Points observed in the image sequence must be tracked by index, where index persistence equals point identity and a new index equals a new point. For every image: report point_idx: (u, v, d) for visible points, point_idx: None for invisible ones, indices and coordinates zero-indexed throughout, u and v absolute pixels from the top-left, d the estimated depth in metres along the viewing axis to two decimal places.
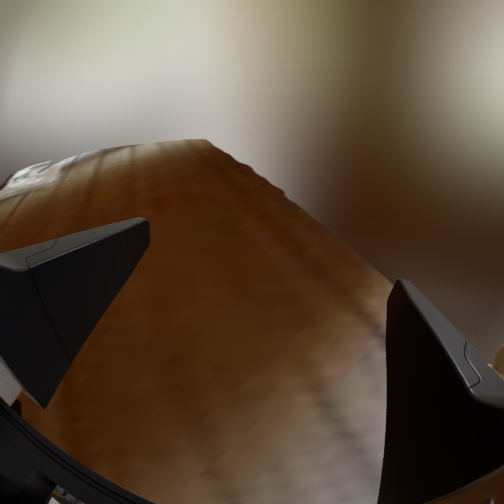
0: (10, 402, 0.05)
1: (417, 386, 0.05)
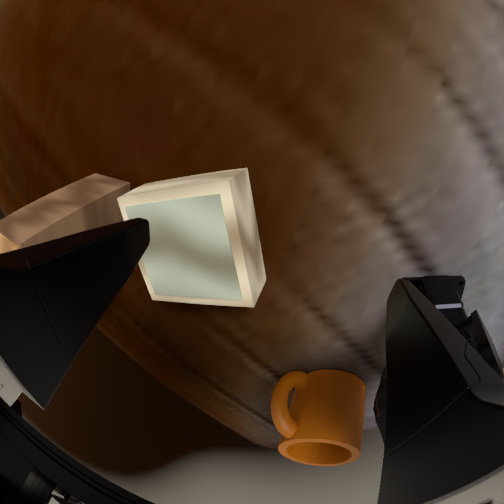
0: (10, 402, 0.05)
1: (417, 386, 0.05)
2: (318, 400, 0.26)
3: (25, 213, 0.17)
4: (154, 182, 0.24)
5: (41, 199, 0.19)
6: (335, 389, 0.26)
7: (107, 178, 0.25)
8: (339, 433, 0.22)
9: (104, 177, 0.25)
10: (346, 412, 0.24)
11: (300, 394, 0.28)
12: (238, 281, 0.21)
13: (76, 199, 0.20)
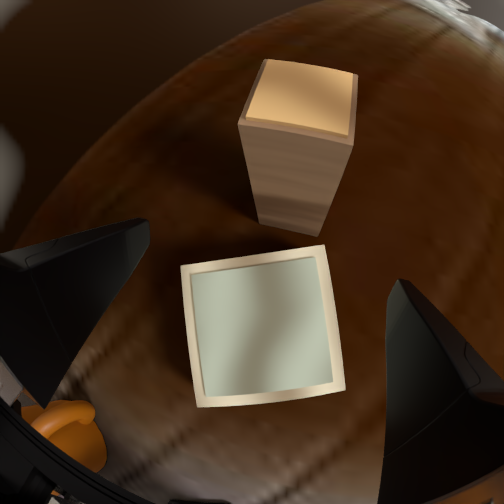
0: (10, 402, 0.05)
1: (417, 386, 0.05)
2: (77, 449, 0.16)
3: None
4: None
5: None
6: (91, 459, 0.17)
7: None
8: None
9: None
10: None
11: (72, 422, 0.18)
12: (230, 394, 0.17)
13: None
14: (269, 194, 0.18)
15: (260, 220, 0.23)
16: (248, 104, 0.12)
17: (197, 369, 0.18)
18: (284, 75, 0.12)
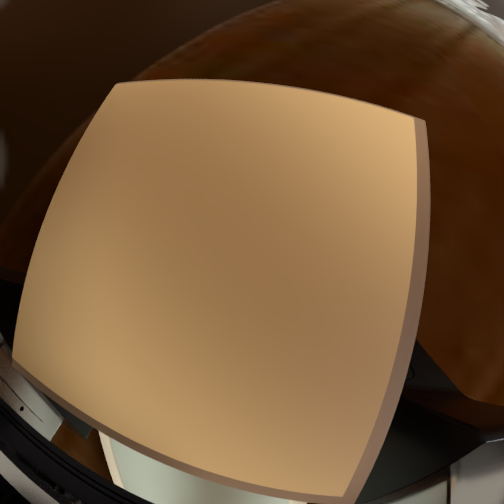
0: (49, 436, 0.05)
1: None
2: None
3: None
4: None
5: None
6: None
7: None
8: None
9: None
10: None
11: None
12: None
13: None
14: None
15: None
16: None
17: None
18: (133, 149, 0.03)
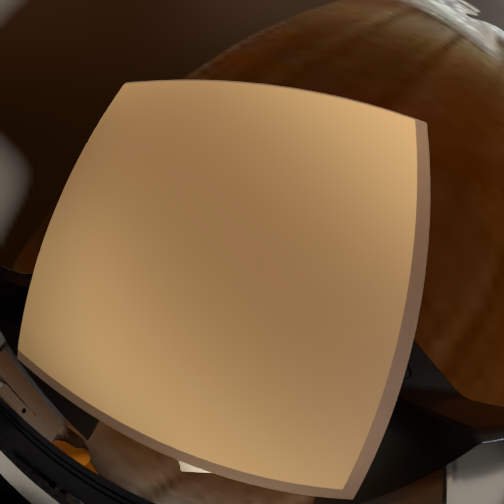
0: (51, 438, 0.05)
1: None
2: None
3: None
4: None
5: None
6: None
7: None
8: None
9: None
10: None
11: None
12: None
13: None
14: None
15: None
16: None
17: None
18: (142, 147, 0.03)
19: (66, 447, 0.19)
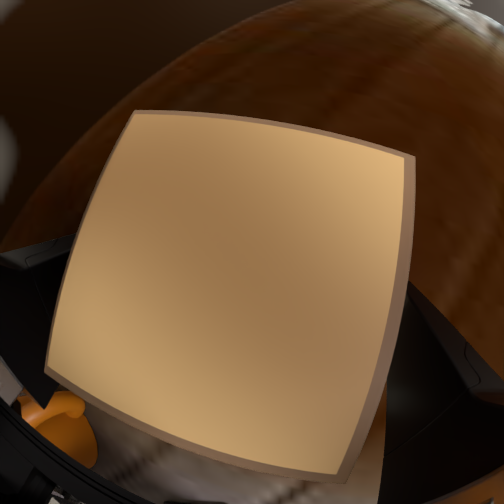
0: (10, 402, 0.05)
1: (417, 386, 0.05)
2: (65, 444, 0.15)
3: None
4: None
5: None
6: (80, 455, 0.16)
7: None
8: None
9: None
10: None
11: (60, 414, 0.17)
12: None
13: None
14: None
15: None
16: None
17: None
18: (158, 184, 0.04)
19: None
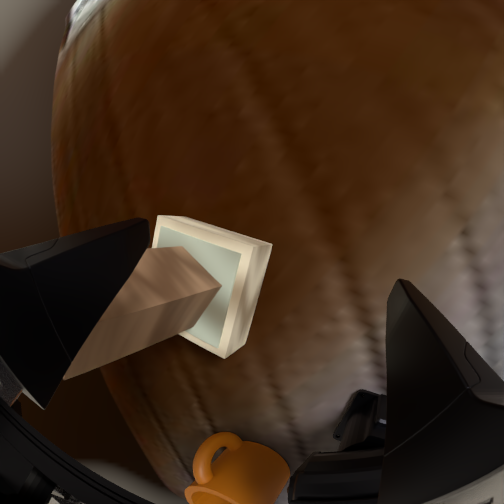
0: (10, 402, 0.05)
1: (417, 386, 0.05)
2: (241, 465, 0.23)
3: None
4: (193, 219, 0.28)
5: None
6: (260, 464, 0.24)
7: (196, 263, 0.23)
8: (247, 500, 0.19)
9: (192, 259, 0.23)
10: (262, 486, 0.21)
11: (228, 454, 0.25)
12: (222, 331, 0.23)
13: (159, 283, 0.18)
14: (146, 340, 0.18)
15: (188, 328, 0.23)
16: None
17: (199, 341, 0.24)
18: None
19: (225, 449, 0.28)
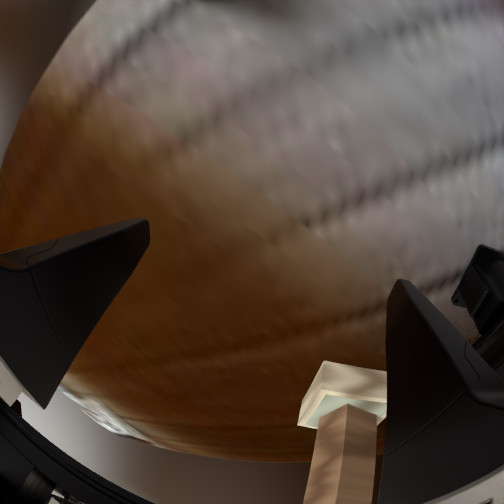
0: (10, 402, 0.05)
1: (417, 386, 0.05)
2: None
3: (313, 490, 0.20)
4: (304, 398, 0.34)
5: (311, 472, 0.23)
6: None
7: (330, 414, 0.28)
8: None
9: (328, 415, 0.28)
10: None
11: None
12: (381, 402, 0.26)
13: (333, 452, 0.23)
14: (368, 459, 0.22)
15: (375, 420, 0.26)
16: None
17: None
18: None
19: None
